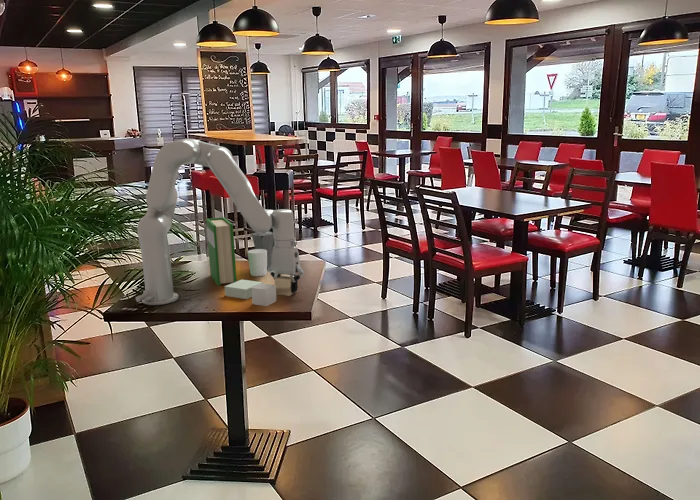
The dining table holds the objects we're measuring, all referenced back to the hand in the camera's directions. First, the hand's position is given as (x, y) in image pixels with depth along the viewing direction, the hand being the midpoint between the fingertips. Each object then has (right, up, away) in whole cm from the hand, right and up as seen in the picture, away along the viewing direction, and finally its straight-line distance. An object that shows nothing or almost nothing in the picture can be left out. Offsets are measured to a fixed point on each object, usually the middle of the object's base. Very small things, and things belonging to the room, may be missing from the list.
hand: (286, 290), depth 212 cm
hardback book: (-28, +3, +20) cm, 35 cm away
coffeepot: (-14, +8, +39) cm, 42 cm away
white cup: (-15, +5, +27) cm, 31 cm away
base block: (-16, -2, 0) cm, 16 cm away
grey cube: (-7, -4, -11) cm, 13 cm away
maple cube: (0, -1, 0) cm, 1 cm away
